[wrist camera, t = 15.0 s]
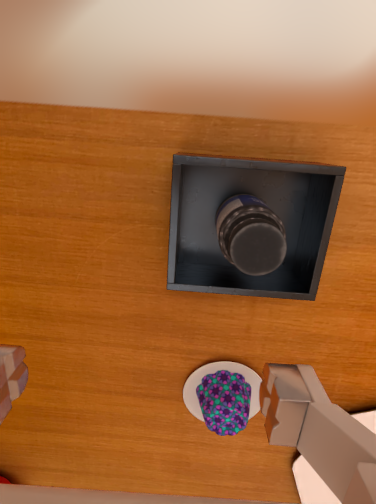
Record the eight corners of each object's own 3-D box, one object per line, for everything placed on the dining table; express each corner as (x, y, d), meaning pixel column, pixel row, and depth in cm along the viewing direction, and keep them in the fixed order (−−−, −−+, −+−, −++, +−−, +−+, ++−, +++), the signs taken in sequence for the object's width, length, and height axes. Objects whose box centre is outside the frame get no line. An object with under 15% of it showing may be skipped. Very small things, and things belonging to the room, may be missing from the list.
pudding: (281, 384, 44) (292, 415, 39) (230, 433, 47) (234, 466, 42) (215, 343, 42) (217, 370, 37) (167, 397, 45) (163, 427, 40)
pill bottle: (278, 219, 35) (312, 251, 24) (239, 254, 36) (255, 298, 26) (242, 180, 34) (262, 197, 23) (203, 218, 35) (205, 250, 25)
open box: (178, 152, 34) (172, 154, 27) (318, 162, 33) (346, 166, 27) (171, 265, 38) (166, 289, 32) (295, 274, 38) (315, 301, 32)
